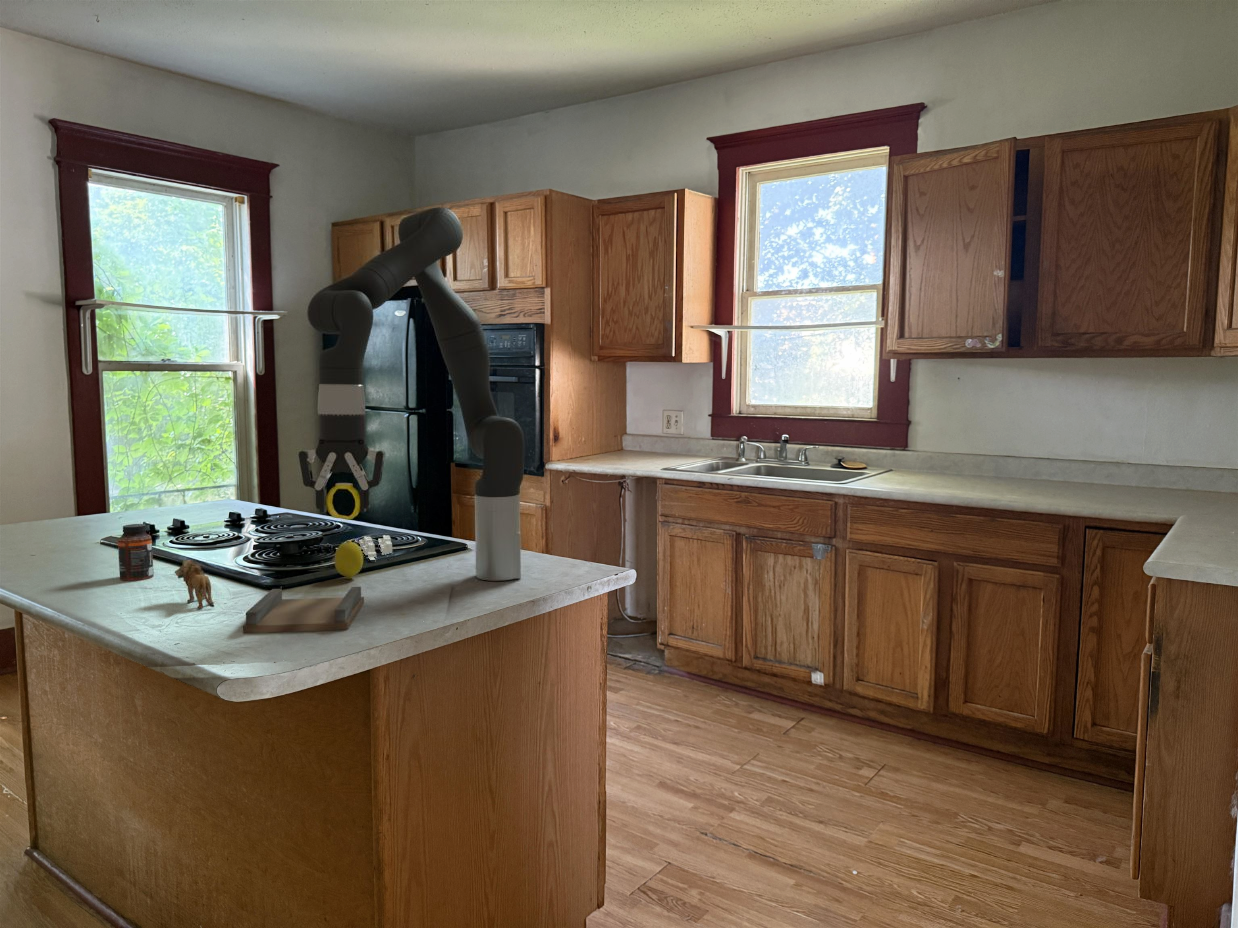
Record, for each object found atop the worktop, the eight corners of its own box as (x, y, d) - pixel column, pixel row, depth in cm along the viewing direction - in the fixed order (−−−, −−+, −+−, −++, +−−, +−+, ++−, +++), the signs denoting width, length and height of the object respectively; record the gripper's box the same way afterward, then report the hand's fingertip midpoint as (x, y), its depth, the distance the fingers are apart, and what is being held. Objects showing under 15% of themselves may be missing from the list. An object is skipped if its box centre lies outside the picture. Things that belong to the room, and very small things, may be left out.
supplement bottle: (160, 579, 171) (158, 523, 170) (132, 585, 166) (130, 528, 165) (140, 576, 174) (138, 521, 173) (113, 582, 169) (110, 526, 168)
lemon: (355, 582, 169) (354, 543, 168) (329, 581, 170) (328, 542, 169) (368, 576, 174) (367, 538, 173) (343, 575, 175) (343, 537, 175)
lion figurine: (173, 600, 154) (171, 560, 154) (198, 595, 158) (196, 557, 157) (202, 611, 147) (200, 570, 146) (227, 606, 150) (225, 566, 149)
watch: (323, 518, 142) (322, 483, 142) (333, 516, 145) (332, 482, 144) (354, 520, 140) (354, 485, 140) (364, 518, 143) (363, 483, 143)
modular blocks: (359, 553, 202) (358, 536, 202) (388, 550, 205) (388, 534, 204) (369, 569, 184) (369, 551, 184) (401, 566, 187) (401, 548, 186)
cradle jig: (364, 603, 153) (363, 585, 152) (347, 629, 136) (347, 610, 136) (271, 606, 150) (270, 588, 150) (242, 633, 134) (242, 613, 133)
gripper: (388, 412, 146) (389, 508, 147) (301, 411, 144) (303, 509, 145) (383, 412, 139) (384, 514, 140) (291, 412, 136) (293, 515, 138)
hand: (343, 511), depth 142 cm, fingers closed on watch, 6 cm apart
